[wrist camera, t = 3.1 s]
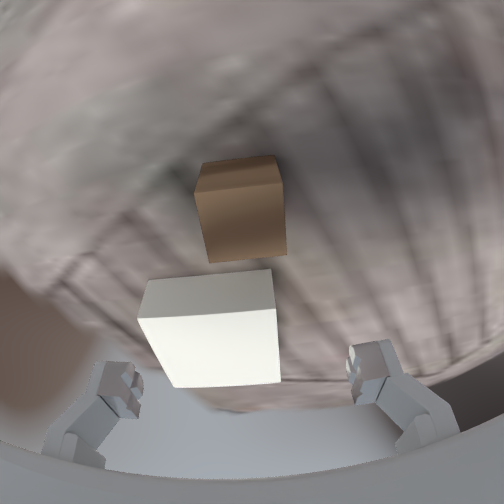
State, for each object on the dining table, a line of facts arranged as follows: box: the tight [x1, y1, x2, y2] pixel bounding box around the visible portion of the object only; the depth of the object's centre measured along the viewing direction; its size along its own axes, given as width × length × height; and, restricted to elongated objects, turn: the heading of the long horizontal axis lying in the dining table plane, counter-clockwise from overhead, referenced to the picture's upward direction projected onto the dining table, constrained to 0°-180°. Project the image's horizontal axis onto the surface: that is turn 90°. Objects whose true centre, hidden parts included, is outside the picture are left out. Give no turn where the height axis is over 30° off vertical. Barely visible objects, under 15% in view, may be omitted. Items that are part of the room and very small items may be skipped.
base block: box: [137, 269, 281, 388], centre depth 29 cm, size 11×11×5 cm
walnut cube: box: [194, 155, 287, 263], centre depth 21 cm, size 5×5×5 cm
